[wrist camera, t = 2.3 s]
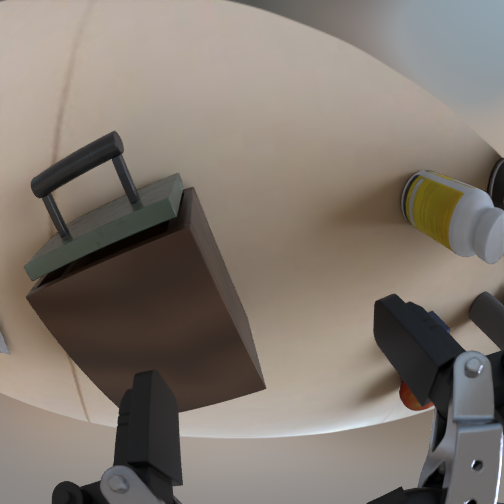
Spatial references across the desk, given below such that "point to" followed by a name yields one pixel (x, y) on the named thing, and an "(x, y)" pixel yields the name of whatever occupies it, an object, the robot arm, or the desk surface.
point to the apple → (411, 399)
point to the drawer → (102, 211)
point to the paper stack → (3, 345)
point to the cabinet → (156, 316)
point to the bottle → (489, 317)
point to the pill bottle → (454, 215)
